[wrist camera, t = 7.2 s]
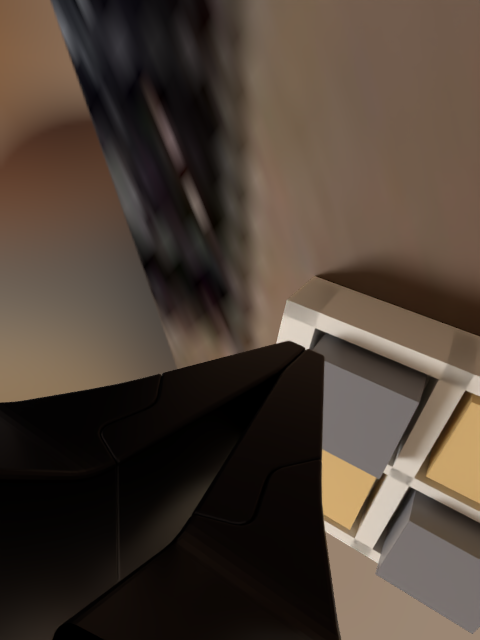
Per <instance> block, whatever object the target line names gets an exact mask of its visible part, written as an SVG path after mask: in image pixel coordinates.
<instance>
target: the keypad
mask: <svg viewBox="0 0 480 640" xmlns="http://www.w3.org/2000/svg"><path fill="white" fill-rule="evenodd" d="M325 333H329V334H331V335H333V336H336V337H338V338H341V339H343V340H345V341H348V342H350V343H353V344H355V345H357V346H360V347H362V348H365V349H367V350H370V351H372V352H374V353H377V354H379V355H382V356H384V357H386V358H389V359H391V360H394V361H396V362H398V363H401V364H403V365H406V366H408V367H410V368H413V369H415V370H418V371H420V372H422V373H425V374H427V378H426V381H425V385H424V388H423V392H422V395H421V399H420V402H419V405H418V406H417V408H416V410H415V412H414V414H413V416H412V418H411V420H410V422H409V424H408V426H407V428H406V430H405V432H404V433H403V435H402V437H401V439H400V441H399V443H398V445H397V447H396V449H395V451H394V453H393V455H392V457H391V459H390V460H389V462H388V464H387V466H386V468H385V470H384V472H383V474H382V476H381V478H380V479H378V478H376V480H375V482H374V484H373V486H372V488H371V489H370V491H369V493H368V495H367V497H366V499H365V501H364V503H363V505H362V507H361V509H360V511H359V513H358V515H357V517H356V519H355V521H354V523H353V525H352V527H351V529H350V530H349V529H348V528H346V527H344V526H342V525H341V524H339V523H337V522H336V521H334V520H332V519H331V518H329V517H327V516H326V515H324V514H323V515H324V525H325V532H327V533H329V534H330V535H332V536H334V537H336V538H337V539H339V540H340V541H342V542H344V543H345V544H347V545H349V546H350V547H352V548H354V549H355V550H357V551H358V552H360V553H362V554H364V555H365V556H367V557H369V558H370V559H372V560H373V561H375V562H377V563H378V562H379V559H380V555H381V551H382V548H383V544H384V540H385V537H386V533H387V529H388V527H389V525H390V523H391V521H392V520H393V518H394V516H395V515H396V513H397V511H398V510H399V508H400V506H401V505H402V503H403V501H404V500H405V498H406V496H407V494H408V493H409V491H410V489H411V488H414V489H415V490H417V491H419V492H421V493H423V494H425V495H427V496H429V497H431V498H433V499H435V500H437V501H439V502H440V503H442V504H444V505H446V506H448V507H450V508H452V509H454V510H456V511H458V512H460V513H462V514H464V515H465V516H467V517H469V518H471V519H473V520H475V521H477V522H479V523H480V503H478V502H476V501H474V500H472V499H470V498H468V497H466V496H464V495H462V494H460V493H458V492H456V491H454V490H452V489H450V488H448V487H446V486H444V485H442V484H440V483H438V482H436V481H434V480H432V479H430V478H428V477H426V475H427V470H428V466H429V461H430V456H431V451H432V446H433V445H434V443H435V441H436V440H437V438H438V436H439V434H440V433H441V431H442V429H443V428H444V426H445V424H446V423H447V421H448V419H449V417H450V416H451V414H452V412H453V411H454V409H455V407H456V405H457V404H458V402H459V400H460V399H461V397H462V395H463V394H464V392H465V390H466V391H468V392H471V393H473V394H475V395H478V396H480V336H477V335H474V334H472V333H469V332H466V331H463V330H461V329H458V328H455V327H453V326H450V325H447V324H444V323H442V322H439V321H436V320H433V319H431V318H428V317H425V316H423V315H420V314H417V313H414V312H412V311H409V310H406V309H403V308H401V307H398V306H395V305H392V304H390V303H387V302H384V301H382V300H379V299H376V298H373V297H371V296H368V295H365V294H362V293H360V292H357V291H354V290H351V289H349V288H346V287H343V286H341V285H338V284H335V283H332V282H330V281H327V280H324V279H321V278H319V277H316V276H314V277H313V278H311V279H310V280H309V281H308V282H307V283H306V284H305V285H303V286H302V287H301V288H300V289H299V290H298V291H296V292H295V293H294V294H293V295H292V296H291V297H290V298H288V299H287V302H286V306H285V310H284V314H283V318H282V322H281V326H280V330H279V334H278V339H277V343H281V342H285V341H292V342H294V343H297V344H299V345H301V346H303V347H305V349H310V350H312V349H313V348H314V347H315V346H316V344H317V343H318V342H319V341H320V339H321V338H322V337H323V336H324V334H325ZM277 343H276V344H277Z"/></svg>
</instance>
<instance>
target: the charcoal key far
mask: <svg viewBox="0 0 480 640" xmlns="http://www.w3.org/2000/svg"><path fill="white" fill-rule="evenodd" d="M376 575H378V576H379V577H381V578H383V579H384V580H386V581H387V582H389V583H391V584H392V585H394V586H395V587H397V588H399V589H400V590H402V591H404V592H405V593H407V594H408V595H410V596H412V597H413V598H415V599H417V600H418V601H420V602H421V603H423V604H425V605H426V606H428V607H429V608H431V609H433V610H435V611H436V612H438V613H439V614H441V615H442V616H444V617H446V618H447V619H449V620H451V621H452V622H454V623H456V624H457V625H459V626H460V627H462V628H464V629H465V630H467V631H468V632H470V633H472V634H473V633H474V632H475V631H476V630H477V629H478V628H479V627H480V523H479V522H477V521H475V520H473V519H471V518H469V517H467V516H465V515H464V514H462V513H460V512H458V511H456V510H454V509H452V508H450V507H448V506H446V505H444V504H442V503H440V502H439V501H437V500H435V499H433V498H431V497H429V496H427V495H425V494H423V493H421V492H419V491H417V490H415V489H414V488H411V489H410V491H409V493H408V494H407V496H406V498H405V500H404V501H403V503H402V505H401V506H400V508H399V510H398V511H397V513H396V515H395V516H394V518H393V520H392V521H391V523H390V525H389V527H388V529H387V533H386V537H385V540H384V544H383V548H382V551H381V555H380V559H379V562H378V566H377V570H376Z"/></svg>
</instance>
